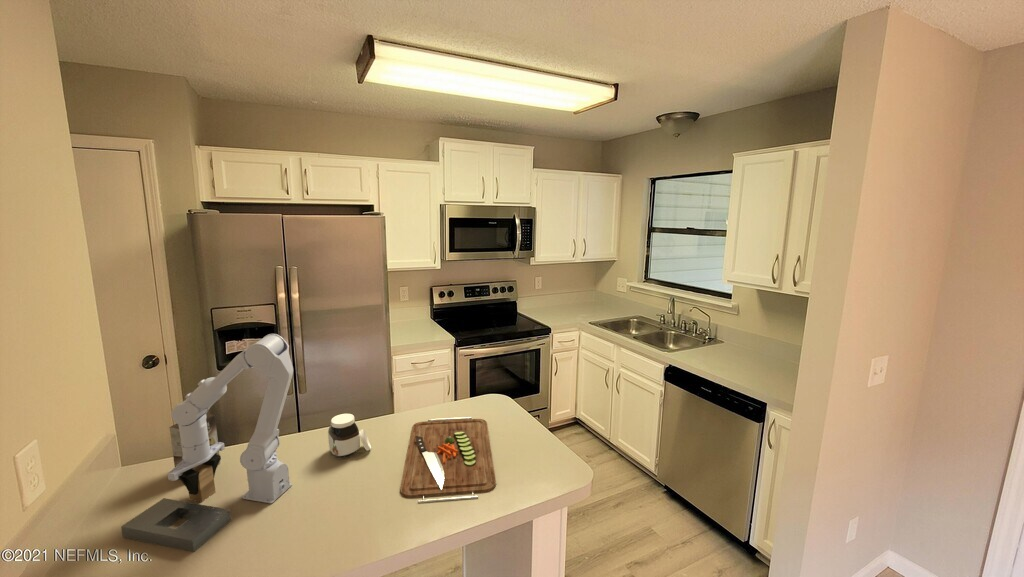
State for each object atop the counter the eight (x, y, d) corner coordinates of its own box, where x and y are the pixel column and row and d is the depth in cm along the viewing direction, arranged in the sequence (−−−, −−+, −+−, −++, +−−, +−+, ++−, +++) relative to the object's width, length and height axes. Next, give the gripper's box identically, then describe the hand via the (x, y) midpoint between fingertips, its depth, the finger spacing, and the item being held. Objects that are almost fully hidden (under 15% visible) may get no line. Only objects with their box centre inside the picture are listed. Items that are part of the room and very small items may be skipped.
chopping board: (497, 498, 113) (498, 488, 113) (397, 506, 110) (397, 496, 109) (485, 418, 157) (485, 410, 157) (413, 422, 154) (413, 414, 153)
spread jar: (325, 451, 134) (323, 417, 132) (358, 437, 142) (356, 405, 140) (344, 466, 126) (342, 431, 124) (377, 450, 134) (375, 417, 132)
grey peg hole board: (231, 520, 104) (230, 509, 103) (194, 551, 94) (192, 540, 93) (165, 508, 107) (163, 498, 107) (123, 537, 98) (121, 526, 97)
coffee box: (193, 481, 118) (186, 429, 115) (175, 478, 119) (167, 427, 116) (221, 463, 127) (215, 414, 124) (204, 460, 128) (197, 411, 125)
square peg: (215, 492, 114) (212, 465, 112) (202, 501, 110) (198, 474, 108) (203, 490, 114) (199, 463, 113) (189, 499, 111) (185, 472, 109)
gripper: (207, 426, 117) (213, 469, 119) (154, 455, 103) (162, 503, 105) (228, 429, 116) (233, 473, 118) (178, 459, 102) (185, 508, 104)
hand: (201, 487), depth 112 cm, fingers closed on square peg, 4 cm apart
